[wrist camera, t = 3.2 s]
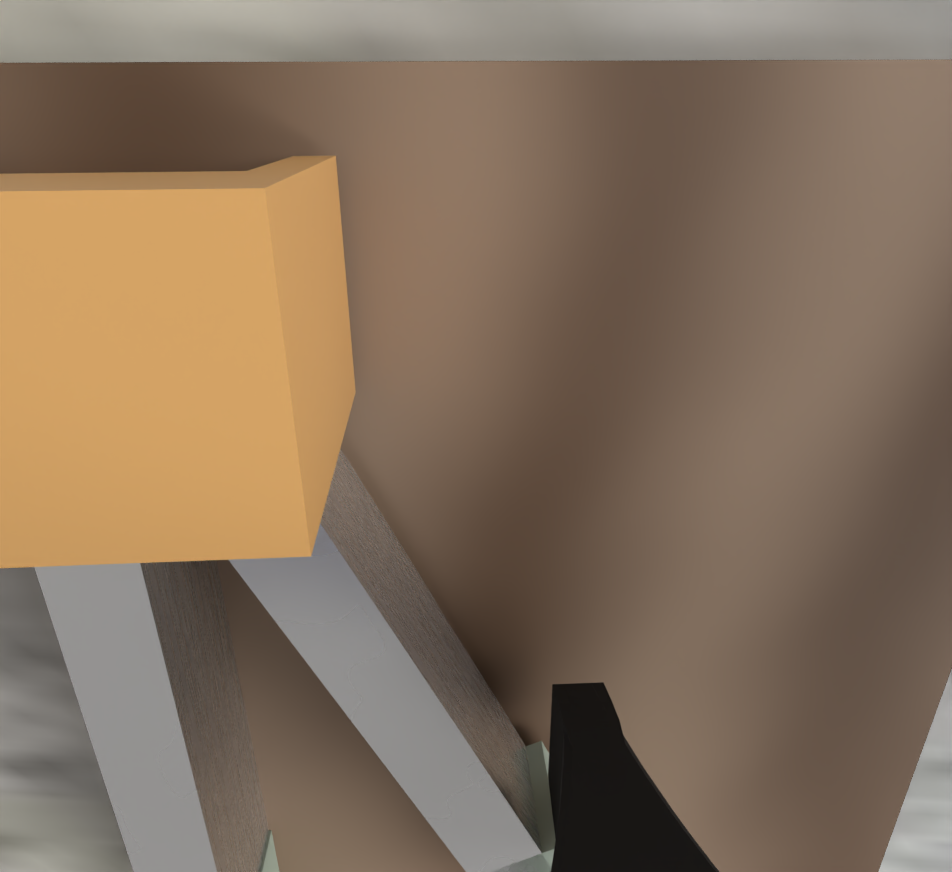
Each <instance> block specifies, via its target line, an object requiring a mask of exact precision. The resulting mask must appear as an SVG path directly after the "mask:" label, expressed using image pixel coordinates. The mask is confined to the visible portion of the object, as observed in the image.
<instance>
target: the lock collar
mask: <svg viewBox="0 0 952 872" xmlns="http://www.w3.org/2000/svg"><path fill="white" fill-rule="evenodd" d="M355 393H356V391H355V379H354V367H353V355H352V343H351V331H350V319H349V307H348V295H347V283H346V271H345V259H344V247H343V235H342V224H341V212H340V200H339V188H338V176H337V164H336V156H292V157H289V158H286V159H282V160H279V161H276V162H273V163H270V164H267V165H264V166H261V167H258V168H254V169H251V170H248V171H202V172H111V173H19V174H0V568H20V567H47V566H73V565H100V564H126V563H153V562H179V561H206V560H232V559H259V558H285V557H311V555H312V551H313V548H314V544H315V540H316V537H317V533H318V529H319V526H320V522H321V518H322V514H323V511H324V507H325V503H326V500H327V496H328V492H329V489H330V485H331V481H332V478H333V474H334V470H335V467H336V463H337V459H338V455H339V452H340V448H341V444H342V441H343V437H344V433H345V430H346V426H347V422H348V419H349V415H350V411H351V408H352V404H353V400H354V396H355Z"/></svg>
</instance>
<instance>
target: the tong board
mask: <svg viewBox="0 0 952 872" xmlns="http://www.w3.org/2000/svg"><path fill="white" fill-rule="evenodd" d="M292 156H336V164H337V176H338V188H339V200H340V212H341V224H342V235H343V247H344V259H345V271H346V283H347V295H348V307H349V319H350V331H351V343H352V355H353V367H354V379H355V391H356V393H355V396H354V400H353V404H352V408H351V411H350V415H349V419H348V422H347V426H346V430H345V433H344V437H343V441H342V444H341V449H342V451H343V453H344V454H345V456H346V457H347V459H348V461H349V462H350V464H351V466H352V467H353V469H354V470H355V472H356V474H357V475H358V477H359V478H360V480H361V482H362V483H363V485H364V486H365V488H366V490H367V491H368V493H369V494H370V496H371V498H372V499H373V501H374V503H375V504H376V506H377V507H378V509H379V511H380V512H381V514H382V515H383V517H384V519H385V520H386V522H387V523H388V525H389V527H390V528H391V530H392V532H393V533H394V535H395V536H396V538H397V540H398V541H399V543H400V544H401V546H402V548H403V549H404V551H405V552H406V554H407V556H408V557H409V559H410V560H411V562H412V564H413V565H414V567H415V569H416V570H417V572H418V573H419V575H420V577H421V578H422V580H423V581H424V583H425V585H426V586H427V588H428V589H429V591H430V593H431V594H432V596H433V598H434V599H435V601H436V602H437V604H438V606H439V607H440V609H441V610H442V612H443V614H444V615H445V617H446V618H447V620H448V622H449V623H450V625H451V626H452V628H453V630H454V631H455V633H456V635H457V636H458V638H459V639H460V641H461V643H462V644H463V646H464V647H465V649H466V651H467V652H468V654H469V655H470V657H471V659H472V660H473V662H474V664H475V665H476V667H477V668H478V670H479V672H480V673H481V675H482V676H483V678H484V680H485V681H486V683H487V684H488V686H489V688H490V689H491V691H492V693H493V694H494V696H495V697H496V699H497V701H498V702H499V704H500V705H501V707H502V709H503V710H504V712H505V713H506V715H507V717H508V718H509V720H510V721H511V723H512V725H513V726H514V728H515V730H516V731H517V733H518V734H519V736H520V738H521V739H522V741H523V742H524V744H525V746H528V745H531V744H534V743H536V742H539V741H542V742H543V744H544V746H545V747H546V749H547V751H548V752H549V745H550V725H551V704H552V684H572V683H598V682H604V685H605V687H606V689H607V691H608V694H609V696H610V698H611V700H612V702H613V705H614V708H615V710H616V713H617V715H618V718H619V720H620V724H621V728H622V732H623V735H624V737H625V738H626V740H627V742H628V743H629V745H630V746H631V748H632V750H633V751H634V753H635V755H636V756H637V758H638V759H639V761H640V762H641V764H642V765H643V767H644V769H645V770H646V772H647V773H648V775H649V776H650V778H651V779H652V780H653V782H654V783H655V785H656V786H657V788H658V789H659V791H660V792H661V794H662V795H663V796H664V798H665V799H666V801H667V802H668V804H669V805H670V807H671V808H672V809H673V811H674V812H675V814H676V815H677V816H678V818H679V819H680V821H681V822H682V823H683V825H684V826H685V827H686V829H687V830H688V832H689V833H690V834H691V836H692V837H693V838H694V839H695V841H696V842H697V843H698V845H699V846H700V847H701V849H702V850H703V851H704V853H705V854H706V855H707V856H708V858H709V859H710V860H711V862H712V863H713V864H714V865H715V867H716V868H717V869H718V870H719V872H878V871H879V868H880V865H881V862H882V860H883V857H884V854H885V851H886V848H887V846H888V843H889V840H890V837H891V835H892V832H893V829H894V826H895V824H896V821H897V818H898V815H899V813H900V810H901V807H902V804H903V801H904V799H905V796H906V793H907V790H908V788H909V785H910V782H911V779H912V777H913V774H914V771H915V768H916V766H917V763H918V760H919V757H920V754H921V752H922V749H923V746H924V743H925V741H926V738H927V735H928V732H929V730H930V727H931V724H932V721H933V719H934V716H935V713H936V710H937V707H938V705H939V702H940V699H941V696H942V694H943V691H944V688H945V685H946V683H947V680H948V677H949V674H950V672H951V669H952V60H701V61H408V62H115V63H0V174H19V173H111V172H202V171H248V170H251V169H254V168H258V167H261V166H264V165H267V164H270V163H273V162H276V161H279V160H282V159H286V158H289V157H292ZM34 568H35V571H36V574H37V577H38V581H39V584H40V587H41V590H42V593H43V596H44V599H45V602H46V605H47V608H48V611H49V614H50V617H51V620H52V623H53V627H54V630H55V633H56V636H57V639H58V642H59V645H60V648H61V651H62V654H63V657H64V660H65V663H66V666H67V669H68V673H69V676H70V679H71V682H72V685H73V688H74V691H75V694H76V697H77V700H78V703H79V706H80V709H81V712H82V715H83V719H84V722H85V725H86V728H87V731H88V734H89V737H90V740H91V743H92V746H93V749H94V752H95V755H96V758H97V761H98V765H99V768H100V771H101V774H102V777H103V780H104V783H105V786H106V789H107V792H108V795H109V798H110V801H111V804H112V807H113V811H114V814H115V817H116V820H117V823H118V826H119V829H120V832H121V835H122V838H123V841H124V844H125V847H126V850H127V853H128V856H129V860H130V863H131V866H132V869H133V872H466V871H465V870H464V869H463V867H462V866H461V865H460V863H459V862H458V861H457V859H456V858H455V857H454V855H453V854H452V853H451V852H450V850H449V849H448V848H447V846H446V845H445V844H444V842H443V841H442V840H441V838H440V837H439V836H438V834H437V833H436V832H435V831H434V829H433V828H432V827H431V825H430V824H429V823H428V821H427V820H426V819H425V817H424V816H423V815H422V813H421V812H420V811H419V810H418V808H417V807H416V806H415V804H414V803H413V802H412V800H411V799H410V798H409V796H408V795H407V794H406V792H405V791H404V790H403V788H402V787H401V786H400V785H399V783H398V782H397V781H396V779H395V778H394V777H393V775H392V774H391V773H390V771H389V770H388V769H387V767H386V766H385V765H384V764H383V762H382V761H381V760H380V758H379V757H378V756H377V754H376V753H375V752H374V750H373V749H372V748H371V746H370V745H369V744H368V743H367V741H366V740H365V739H364V737H363V736H362V735H361V733H360V732H359V731H358V729H357V728H356V727H355V725H354V724H353V723H352V722H351V720H350V719H349V718H348V716H347V715H346V714H345V712H344V711H343V710H342V708H341V707H340V706H339V704H338V703H337V702H336V701H335V699H334V698H333V697H332V695H331V694H330V693H329V691H328V690H327V689H326V687H325V686H324V685H323V683H322V682H321V681H320V679H319V678H318V677H317V676H316V674H315V673H314V672H313V670H312V669H311V668H310V666H309V665H308V664H307V662H306V661H305V660H304V658H303V657H302V656H301V655H300V653H299V652H298V651H297V649H296V648H295V647H294V645H293V644H292V643H291V641H290V640H289V639H288V637H287V636H286V635H285V634H284V632H283V631H282V630H281V628H280V627H279V626H278V624H277V623H276V622H275V620H274V619H273V618H272V616H271V615H270V614H269V613H268V611H267V610H266V609H265V607H264V606H263V605H262V603H261V602H260V601H259V599H258V598H257V597H256V595H255V594H254V593H253V592H252V590H251V589H250V588H249V586H248V585H247V584H246V582H245V581H244V580H243V578H242V577H241V576H240V574H239V573H238V572H237V570H236V569H235V568H234V567H233V565H232V564H231V563H230V561H229V560H206V561H179V562H153V563H126V564H100V565H73V566H47V567H34Z"/></svg>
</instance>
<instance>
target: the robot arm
mask: <svg viewBox="0 0 952 872" xmlns="http://www.w3.org/2000/svg"><path fill="white" fill-rule="evenodd" d="M548 781H549V789H550V798H551V806H552V815H553V823H554V831H555V839H556V840H555V847H554V854H553V861H552V867H551V872H719V870H718V869H717V868H716V867H715V865H714V864H713V863H712V862H711V860H710V859H709V858H708V856H707V855H706V854H705V853H704V851H703V850H702V849H701V847H700V846H699V845H698V843H697V842H696V841H695V839H694V838H693V837H692V836H691V834H690V833H689V832H688V830H687V829H686V827H685V826H684V825H683V823H682V822H681V821H680V819H679V818H678V816H677V815H676V814H675V812H674V811H673V809H672V808H671V807H670V805H669V804H668V802H667V801H666V799H665V798H664V796H663V795H662V794H661V792H660V791H659V789H658V788H657V786H656V785H655V783H654V782H653V780H652V779H651V778H650V776H649V775H648V773H647V772H646V770H645V769H644V767H643V765H642V764H641V762H640V761H639V759H638V758H637V756H636V755H635V753H634V751H633V750H632V748H631V746H630V745H629V743H628V742H627V740H626V738H625V737H624V735H623V732H622V728H621V724H620V720H619V718H618V715H617V713H616V710H615V708H614V705H613V702H612V700H611V698H610V696H609V694H608V691H607V689H606V687H605V685H604V682H598V683H572V684H552V704H551V725H550V745H549V766H548Z"/></svg>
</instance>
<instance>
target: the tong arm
mask: <svg viewBox="0 0 952 872" xmlns="http://www.w3.org/2000/svg"><path fill="white" fill-rule="evenodd" d="M229 561H230V563H231V564H232V565H233V567H234V568H235V569H236V570H237V572H238V573H239V574H240V576H241V577H242V578H243V580H244V581H245V582H246V584H247V585H248V586H249V588H250V589H251V590H252V592H253V593H254V594H255V595H256V597H257V598H258V599H259V601H260V602H261V603H262V605H263V606H264V607H265V609H266V610H267V611H268V613H269V614H270V615H271V616H272V618H273V619H274V620H275V622H276V623H277V624H278V626H279V627H280V628H281V630H282V631H283V632H284V634H285V635H286V636H287V637H288V639H289V640H290V641H291V643H292V644H293V645H294V647H295V648H296V649H297V651H298V652H299V653H300V655H301V656H302V657H303V658H304V660H305V661H306V662H307V664H308V665H309V666H310V668H311V669H312V670H313V672H314V673H315V674H316V676H317V677H318V678H319V679H320V681H321V682H322V683H323V685H324V686H325V687H326V689H327V690H328V691H329V693H330V694H331V695H332V697H333V698H334V699H335V701H336V702H337V703H338V704H339V706H340V707H341V708H342V710H343V711H344V712H345V714H346V715H347V716H348V718H349V719H350V720H351V722H352V723H353V724H354V725H355V727H356V728H357V729H358V731H359V732H360V733H361V735H362V736H363V737H364V739H365V740H366V741H367V743H368V744H369V745H370V746H371V748H372V749H373V750H374V752H375V753H376V754H377V756H378V757H379V758H380V760H381V761H382V762H383V764H384V765H385V766H386V767H387V769H388V770H389V771H390V773H391V774H392V775H393V777H394V778H395V779H396V781H397V782H398V783H399V785H400V786H401V787H402V788H403V790H404V791H405V792H406V794H407V795H408V796H409V798H410V799H411V800H412V802H413V803H414V804H415V806H416V807H417V808H418V810H419V811H420V812H421V813H422V815H423V816H424V817H425V819H426V820H427V821H428V823H429V824H430V825H431V827H432V828H433V829H434V831H435V832H436V833H437V834H438V836H439V837H440V838H441V840H442V841H443V842H444V844H445V845H446V846H447V848H448V849H449V850H450V852H451V853H452V854H453V855H454V857H455V858H456V859H457V861H458V862H459V863H460V865H461V866H462V867H463V869H464V870H465V871H466V872H551V867H552V861H553V854H554V847H555V840H556V839H555V831H554V823H553V815H552V806H551V798H550V789H549V781H548V766H549V752H548V751H547V749H546V747H545V746H544V744H543V742H542V741H539V742H536V743H534V744H531V745H528V746H525V744H524V742H523V741H522V739H521V738H520V736H519V734H518V733H517V731H516V730H515V728H514V726H513V725H512V723H511V721H510V720H509V718H508V717H507V715H506V713H505V712H504V710H503V709H502V707H501V705H500V704H499V702H498V701H497V699H496V697H495V696H494V694H493V693H492V691H491V689H490V688H489V686H488V684H487V683H486V681H485V680H484V678H483V676H482V675H481V673H480V672H479V670H478V668H477V667H476V665H475V664H474V662H473V660H472V659H471V657H470V655H469V654H468V652H467V651H466V649H465V647H464V646H463V644H462V643H461V641H460V639H459V638H458V636H457V635H456V633H455V631H454V630H453V628H452V626H451V625H450V623H449V622H448V620H447V618H446V617H445V615H444V614H443V612H442V610H441V609H440V607H439V606H438V604H437V602H436V601H435V599H434V598H433V596H432V594H431V593H430V591H429V589H428V588H427V586H426V585H425V583H424V581H423V580H422V578H421V577H420V575H419V573H418V572H417V570H416V569H415V567H414V565H413V564H412V562H411V560H410V559H409V557H408V556H407V554H406V552H405V551H404V549H403V548H402V546H401V544H400V543H399V541H398V540H397V538H396V536H395V535H394V533H393V532H392V530H391V528H390V527H389V525H388V523H387V522H386V520H385V519H384V517H383V515H382V514H381V512H380V511H379V509H378V507H377V506H376V504H375V503H374V501H373V499H372V498H371V496H370V494H369V493H368V491H367V490H366V488H365V486H364V485H363V483H362V482H361V480H360V478H359V477H358V475H357V474H356V472H355V470H354V469H353V467H352V466H351V464H350V462H349V461H348V459H347V457H346V456H345V454H344V453H343V451H342V449H341V448H340V452H339V455H338V459H337V463H336V467H335V470H334V474H333V478H332V481H331V485H330V489H329V492H328V496H327V500H326V503H325V507H324V511H323V514H322V518H321V522H320V526H319V529H318V533H317V537H316V540H315V544H314V548H313V551H312V555H311V557H285V558H259V559H232V560H229Z"/></svg>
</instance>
